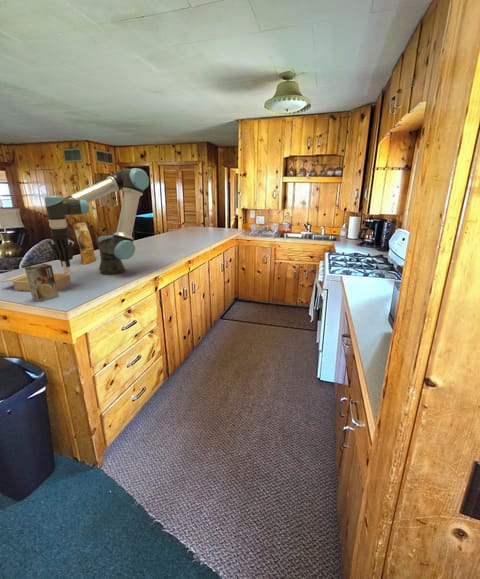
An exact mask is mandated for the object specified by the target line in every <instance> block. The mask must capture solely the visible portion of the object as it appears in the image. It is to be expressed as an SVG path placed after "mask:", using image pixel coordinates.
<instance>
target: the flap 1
mask: <svg viewBox="0 0 480 579" xmlns="http://www.w3.org/2000/svg"><path fill="white" fill-rule="evenodd" d="M26 276H27V274H26V273H22V274H19V275H16V276H13V277H10V278H6V279H4V280H2V281H0V283H5V282H6V283H7V282H13V281H15V280H18V279H20V278H23V277H26Z"/></svg>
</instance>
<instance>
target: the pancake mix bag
mask: <svg viewBox="0 0 480 579" xmlns="http://www.w3.org/2000/svg"><path fill="white" fill-rule="evenodd" d="M72 227H73V232H74V235H75V239H76V242H77V244H78V247H79V253H80V258H81V259H80V260H81V265H88V264H90V263H93V262H95V261H97V258H96V255H95V250H94V244H93V241H92V236H91V234H90V230H89V228H88V226H87V223H86V221H83V222H78V223H74V224H73V226H72Z"/></svg>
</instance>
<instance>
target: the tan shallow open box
mask: <svg viewBox="0 0 480 579" xmlns="http://www.w3.org/2000/svg"><path fill="white" fill-rule="evenodd" d="M67 274H68V273H67ZM67 274H66V273H58V272H57V273H54V272H53V275H54V279H55V280H56V279H58V278H61V277H63V276H65V275H67ZM12 284H13V287H14V291H18V290H23V291H25V292H31V290H30V286H29V282H28V278H27V276H24V277H21V278H18V279H15V280H12ZM55 284H56V288H57V291H58V290H59V289H62V288H64V287H66V286H68V285H71V284H72V281H71V274H70V275H68V276H65V277H63V278H61V279H58V280H56V281H55ZM23 291H22V292H23Z"/></svg>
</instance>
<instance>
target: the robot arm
mask: <svg viewBox="0 0 480 579" xmlns="http://www.w3.org/2000/svg"><path fill="white" fill-rule="evenodd" d="M149 184H150V178H149V176H148V174H147V172H146V170H143V169H142V168H137V167H134V168H123V169H120V170H118V171H116V172H114V173H113V174H111V175H108V176H107V177H106V178H105V179H103V180H102V181H98V182H97V183H95V184H92V185H91V186H88V187H86V188H84V189H82V190H79V191H77V192H74V193H73V194H70V195H68V196H66V197H62V195H46V196H44V206H45V210H46V214H47V219H48V224H49V228H50V234H51V237H52V239H51V240H49V241H48V244H49V246H50V247H51V250H52V252H53V254H54V256H55V259H56V261H60V264H61V268H62V270H63V272H64V273H63V274H70V273H71V269H70V267H71V262H70V261H71V260H73V258H74V245H75V243H76V242H75V241H72V240H71V239H70V238H69V230H68V223H67V218H66V216H73V215H74V216H75V215H87V214H89V212H90V203H92V202H95V201H96V200H98V199H100V198H102V197H104V196H106V195H110V194H111V193H113V192H116V193H117V192H119V191H123V192H124V193H123V199H122V202H121V209H120V213H119V218H118V223H117V227H116V231H115V233H113V234H112V235H104V236H103V235H102V236H98V238H97V244H98V252H99V255H100V256H99V257H100V263H99V269H98V272H99V274H101V275H117V274H121V273H124V272H125V271H126V270H125V265H124V263H123V261H122V260H124V261H125V260H129V259H131V258H132V257H133V256H134V254H135V253H136V245H135V244H134V238H133V236H132V234H133V231H134V227H135V220H136V215H137V211H138V206H139V200H140V198H141V196H143V195H144V190H146V189H148V187H149Z"/></svg>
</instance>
